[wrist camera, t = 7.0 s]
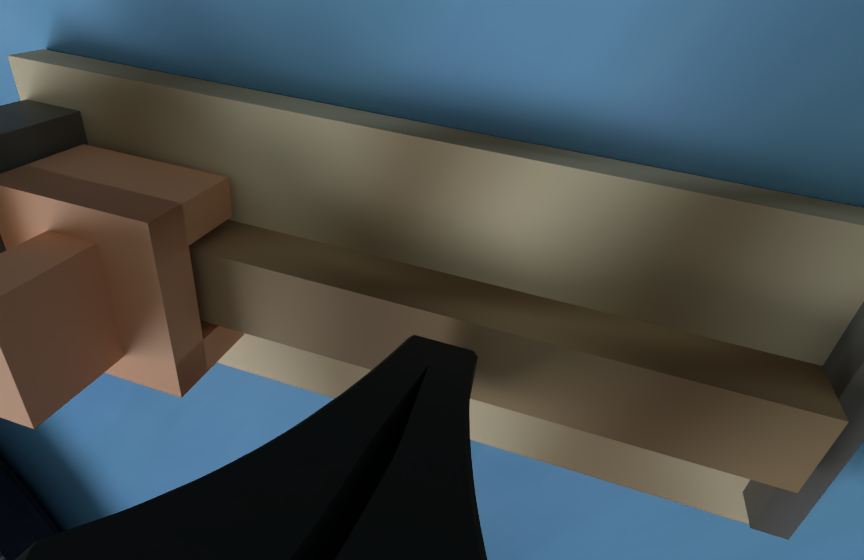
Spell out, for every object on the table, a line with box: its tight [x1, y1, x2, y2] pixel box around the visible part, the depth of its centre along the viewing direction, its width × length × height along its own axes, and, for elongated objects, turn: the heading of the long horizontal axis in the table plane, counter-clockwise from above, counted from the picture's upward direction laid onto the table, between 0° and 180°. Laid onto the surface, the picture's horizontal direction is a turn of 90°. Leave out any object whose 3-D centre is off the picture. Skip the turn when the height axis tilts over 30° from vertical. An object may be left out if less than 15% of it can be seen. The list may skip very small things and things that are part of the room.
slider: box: [0, 144, 244, 429], centre depth 12 cm, size 4×5×5 cm
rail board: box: [0, 49, 864, 540], centre depth 12 cm, size 20×8×5 cm, turn 84°
